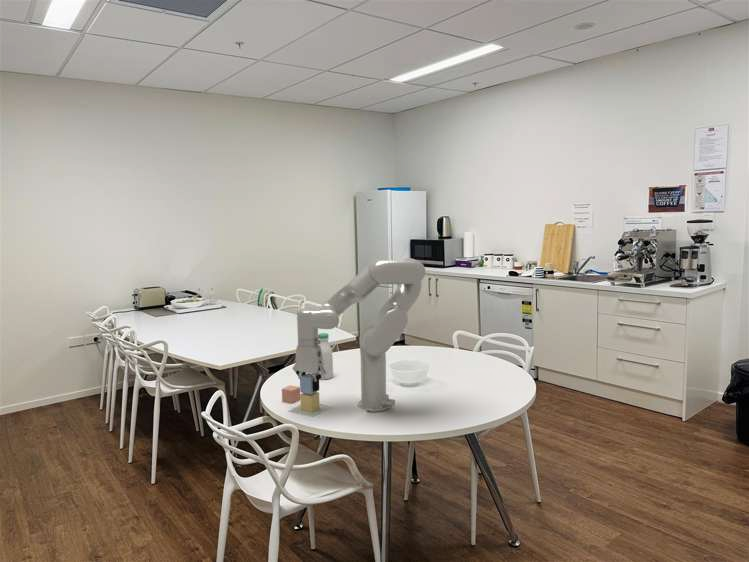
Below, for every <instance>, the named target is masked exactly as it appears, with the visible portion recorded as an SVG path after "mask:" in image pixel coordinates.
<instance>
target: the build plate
mask: <svg viewBox="0 0 749 562" xmlns="http://www.w3.org/2000/svg"><path fill="white" fill-rule="evenodd" d="M319 406H320V408H318V409H317V410H315V411H313V412H309V411H304V410H301V404H300V405H297V406H296V407H292V408H291V409H290V410H289V409H288V410H287V412H289V413H292V414H298V415H302V416H308V417H312V418H315V417H317V416H319V415H320V414H322V413H323V412H326V411H328V409H331V408H332V407H333V406H332V405H327V404H321V403H319Z"/></svg>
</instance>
